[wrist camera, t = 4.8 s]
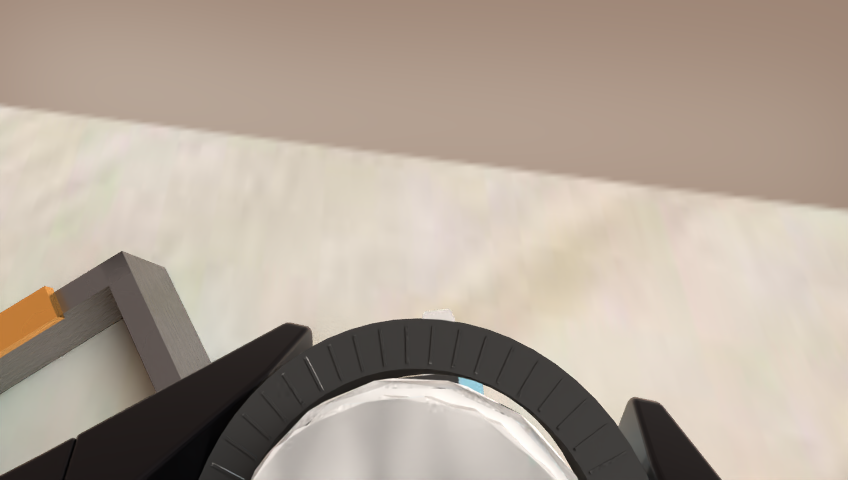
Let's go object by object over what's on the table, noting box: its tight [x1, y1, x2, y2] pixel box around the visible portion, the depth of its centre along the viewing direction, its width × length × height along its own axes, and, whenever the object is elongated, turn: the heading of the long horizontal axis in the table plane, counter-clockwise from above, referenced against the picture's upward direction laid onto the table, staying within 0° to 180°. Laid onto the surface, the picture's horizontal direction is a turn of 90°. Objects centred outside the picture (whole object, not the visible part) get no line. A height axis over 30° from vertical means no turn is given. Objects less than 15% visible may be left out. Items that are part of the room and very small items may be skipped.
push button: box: [199, 309, 649, 480], centre depth 10 cm, size 7×5×10 cm
